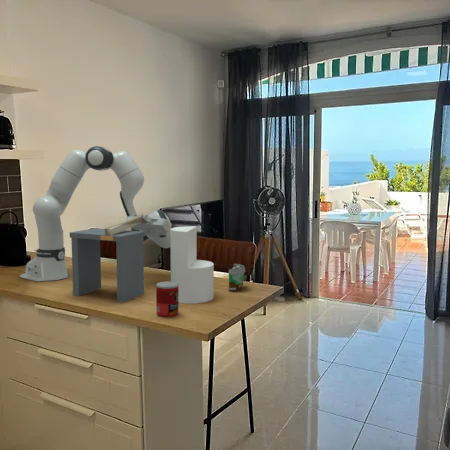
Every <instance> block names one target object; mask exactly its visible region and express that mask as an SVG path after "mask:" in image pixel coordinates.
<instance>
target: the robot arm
mask: <svg viewBox="0 0 450 450" xmlns="http://www.w3.org/2000/svg"><path fill="white" fill-rule="evenodd" d="M89 169H92V170H95V171H99V172H101V171H102V172H103V171H107V170H111V171H113V172H114V174H115V175H116V177H117V179H118V181H119V182H120V187H121V188H120V192H119V197H120V200H121V203H122V206H123V209H124V212H125V214H126V218H125V220H128V219H130V218H133V217H135V216H138V215H139V214H137V211H136V209H135V207H134V198H135V196H136V195H137V194H138V193H139V192H140V191H141V189H142V188H143V185H144V182H145V176H144V174H143V172H142V170H141V169H140V167H139V164H137V162H136V161H135V159H134V158H133V156H131V154H130V153H129V152H127V151H125V150H120V151H117V152H115V153H113V152H112V151H111V150H109V149H108V148H106V147H104V146H99V145H98V146H97V145H96V146H95V145H94V146H92V147H90V148H88V150H87V151H86V152H85V151H83V150H81V149H73V150H71V151H70V152H69V153H68V154H67V155H66V156H65V158H64V159H63V161H62V162H61V164H60V165H59V167H58V169H57V170H56V172H55V173H54V176H53V177H52V178H51V180H50V181H51V182H50V185H49V186H48V189H47V191H46V193H45V195H44V196H41V197H39V198H37V199H36V200H35V202H34V203H33V206H32V212H33V214H34V219H35V222H36V223H35V224H36V228H37V237H38V240H37V241H38V248H37V249H34V250H33V251H34V253H36V254H35V256H34V257H33V259H31V260H30V261H29V262H27V263H26V265H25V273H22V274H20V276H19V277H20V278H22V279H25V280H30V281H33V282H46V281H47V282H48V281H58V280H63V279H67V278H69V273H68V269H67V263H66V258H65V256H66V248H65V247H64V245H65V243H64V242H65V241H64V230H63V226H62V221H61V220H62V219H61V216H62V215H63V214H64V212H65V210H66V208H67V207H68V205H69V203H70V201H71V198H72V196H73V194H74V193H75V190H76V189H77V187H78V186H79V183H80V182H81V180H83V179H82V178H83V177H84V176H85V173H86V172H87V171H88V170H89ZM141 219H142V220H145V221H144V222H142V223H139V224H137V225H135V226H132V227H130V231H142V232H145V237H143V242H145V241H147V240H148V239H150V240H151V241H153V243H155V244H157V246H159V247H161V248H163V249H169V248H171V231H170V229H171V228H172V225H173V224H172V221H171V219H170V217H169V215H168V214H167V213H166V212H165V211H163V210H161V209H157V210H155V211H153V212H151V213H149V214H148V217H147V216H146V215H142V217H141Z"/></svg>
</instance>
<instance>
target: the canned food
mask: <svg viewBox="0 0 450 450" xmlns="http://www.w3.org/2000/svg"><path fill="white" fill-rule="evenodd" d="M155 290H156V291H155V292H156V293H155V294H156V295H155V296H156V297H155V299H156V300H155V301H156V303H155V304H156V308H155V309H156V315H157V316H158V317H160V318H161V317H162V318H174V317H176V316H178V315H179V302H178V283H176V282H171V281H160V282H157V283H156V286H155Z"/></svg>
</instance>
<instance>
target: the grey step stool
mask: <svg viewBox="0 0 450 450" xmlns="http://www.w3.org/2000/svg"><path fill="white" fill-rule="evenodd" d="M143 237H145V232H142V231H132V230H128V229H125V230H123V231H121V232H118V233H116V234H114V235H105V228H100V227H99V228H97V227H96V228H95V227H94V228H89V229H84V230H76V231H71V232H70V231H69V238H71V265H72V266H71V267H72V295H73V296H76V297H80V296H83V295H86V294H88V293H92V292H94V291H97V290H101V289H102V269H101V268H102V266H101V264H102V263H101V262H102V261H101V259H102V258H101V257H102V256H101V241H105V242H106V241H109V242H116V243H115V244H116V288H117V289H116V290H117V291H116V294H117V298H116V299H117V302H118V303H123V304H124V303H127V302H130V301H131V300H133V299H135V298H138V297H140V296H142V295H143V296H144V295H145V269H144V268H145V265H144V263H145V259H144V258H145V255H144V254H145V253H144V251H145V250H144V247H145V246H144V241H143Z"/></svg>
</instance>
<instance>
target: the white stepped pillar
mask: <svg viewBox="0 0 450 450" xmlns="http://www.w3.org/2000/svg"><path fill="white" fill-rule="evenodd" d="M170 231H171V247H170V282H176V283H178V303H180V304H193V305H194V304H203V303H207V302H210V301H212V300H214V298H215V297H214V296H215V295H214V290H215V289H214V286H215V285H214V281H215V278H214V277H215V276H214V275H215V274H214V272H215V271H214V269H215V267H214V265H215V263H213V262H212V261H209V260H202V259H197V252H198V250H197V248H198V247H197V245H198V243H197V242H198V241H197V238H198V237H197V235H198V234H197V226H196V225H195V226H192V225H191V226H176V227H171V229H170Z"/></svg>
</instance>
